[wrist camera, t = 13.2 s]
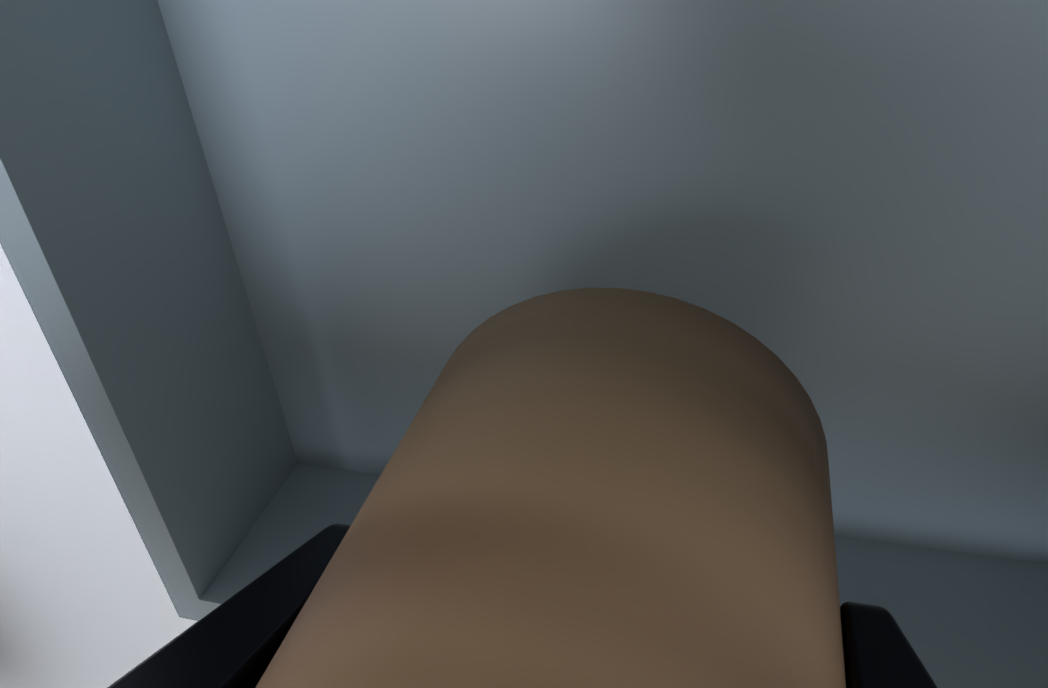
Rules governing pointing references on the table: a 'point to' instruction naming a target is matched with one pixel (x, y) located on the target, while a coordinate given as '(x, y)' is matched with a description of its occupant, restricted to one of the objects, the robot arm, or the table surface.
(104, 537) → the table surface
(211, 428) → the tote
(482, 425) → the walnut cylinder
